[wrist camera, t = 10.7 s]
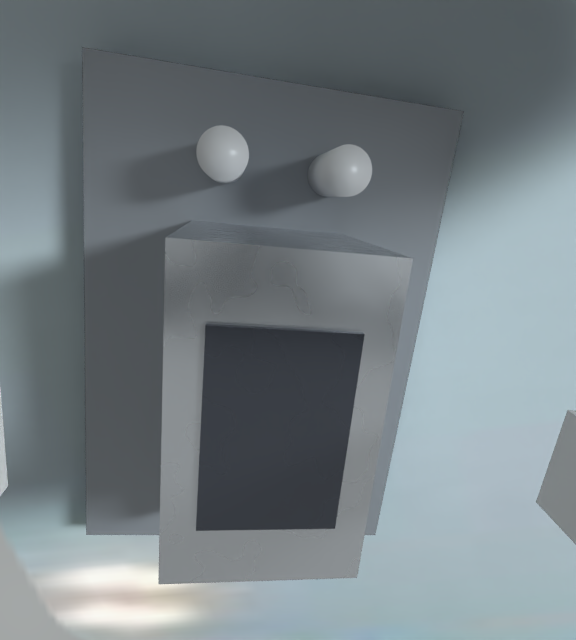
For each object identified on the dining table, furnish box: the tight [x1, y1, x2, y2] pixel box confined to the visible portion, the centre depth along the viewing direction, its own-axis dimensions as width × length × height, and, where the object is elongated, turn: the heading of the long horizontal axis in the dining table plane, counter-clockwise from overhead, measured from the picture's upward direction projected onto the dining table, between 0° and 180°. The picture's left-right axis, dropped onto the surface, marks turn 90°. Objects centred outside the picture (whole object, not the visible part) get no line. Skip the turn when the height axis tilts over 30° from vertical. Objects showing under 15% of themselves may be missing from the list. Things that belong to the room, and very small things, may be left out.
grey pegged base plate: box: [82, 47, 464, 535], centre depth 17 cm, size 20×14×4 cm
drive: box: [159, 220, 413, 584], centre depth 15 cm, size 10×6×7 cm, turn 175°
